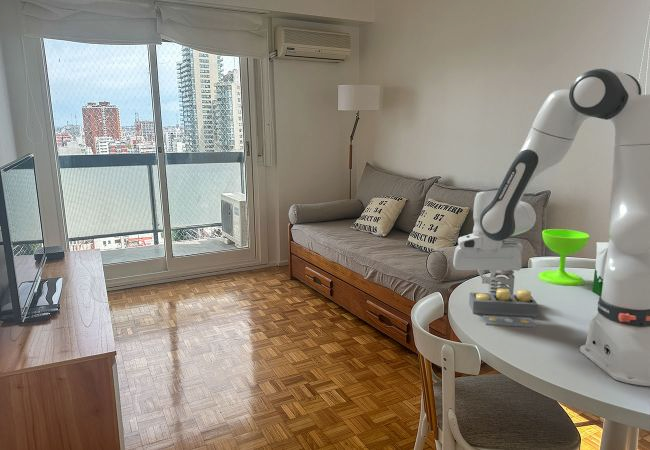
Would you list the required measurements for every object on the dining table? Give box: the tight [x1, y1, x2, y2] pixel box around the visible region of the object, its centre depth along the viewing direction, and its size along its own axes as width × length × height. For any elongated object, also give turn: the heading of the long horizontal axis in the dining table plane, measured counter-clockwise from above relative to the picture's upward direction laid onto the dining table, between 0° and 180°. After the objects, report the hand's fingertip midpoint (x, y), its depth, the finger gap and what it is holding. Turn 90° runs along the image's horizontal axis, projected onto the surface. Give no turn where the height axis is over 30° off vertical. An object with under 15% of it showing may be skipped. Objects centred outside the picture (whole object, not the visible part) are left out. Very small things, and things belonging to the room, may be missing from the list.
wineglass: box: [537, 228, 590, 287], centre depth 173 cm, size 16×16×18 cm
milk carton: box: [591, 241, 609, 297], centre depth 155 cm, size 9×9×20 cm
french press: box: [481, 270, 515, 295], centre depth 153 cm, size 10×12×25 cm
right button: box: [516, 289, 532, 302], centre depth 142 cm, size 4×4×3 cm
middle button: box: [496, 289, 510, 301], centre depth 143 cm, size 4×4×3 cm
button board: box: [468, 292, 539, 328], centre depth 140 cm, size 16×19×4 cm
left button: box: [476, 294, 489, 300], centre depth 145 cm, size 4×4×3 cm
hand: (486, 283), depth 143 cm, fingers closed
